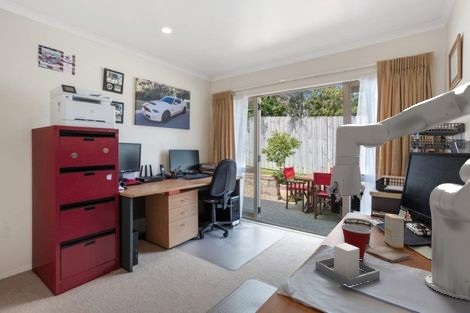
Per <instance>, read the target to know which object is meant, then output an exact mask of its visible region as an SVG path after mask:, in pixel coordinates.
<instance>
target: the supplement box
mask: <svg viewBox="0 0 470 313" xmlns="http://www.w3.org/2000/svg"><path fill="white" fill-rule="evenodd" d="M404 224H405V220H404V218H403V217H401V216H399V215H397V214H393V213H385V214H384V242H385V243H387V245H389V246H390V247H391V248H392V249H393V248H395V249H404V231H405V230H404V226H405V225H404Z"/></svg>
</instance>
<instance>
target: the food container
mask: <svg viewBox="0 0 470 313" xmlns="http://www.w3.org/2000/svg"><path fill="white" fill-rule="evenodd" d="M343 224H349V225H356V226H361V227H365V228H368V229H370V230H371V231H372V229H373V228H374V225H373V222H372V221H370V220H367V219H363V218H355V217H348V218H344V219H343V223H342V225H343ZM371 233H372V232H371ZM371 233H370V235H369V238H368V241H367V246H369V245H370V242H371V235H372V234H371Z"/></svg>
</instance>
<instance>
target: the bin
mask: <svg viewBox="0 0 470 313" xmlns="http://www.w3.org/2000/svg"><path fill="white" fill-rule="evenodd" d="M329 266H334V256H331V257H328V258H323V259H319V260H315V269H316V270H318V271H320V272H321V273H323V274H325V275H327V276H329V277H330V278H331V279H333V280H335V281H336V282H339V283H340V284H342V285H343V284H346V285H347V286H352V285H356V284H360V283H364V282H367V281H370V282H372V281H371V280H373V281H375V280H374V279H376V280H378V278H379V279H381V278H380V277H381V275H380V274H381V273H380V272H381V271H380V270H379V269H378V268H377V269H376V268H375V267H372V266H370V265H368V264H366V263H363V262H362V261H359V268H360V269H362V270H364V271H366V272H367V273H366V272H365V273H364V274H361V275H360V274H359V275H358V276H355V277H351V278H347V277H345V276H344V275H342V274H340V273H338V272H336V271H334V268H331V267H329ZM360 269H359V270H360ZM362 270H361V271H362ZM364 271H363V272H364ZM367 283H368V282H367ZM364 284H365V283H364ZM360 285H361V284H360ZM347 286H346V287H347Z"/></svg>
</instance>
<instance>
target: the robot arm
mask: <svg viewBox="0 0 470 313" xmlns="http://www.w3.org/2000/svg"><path fill="white" fill-rule="evenodd" d="M469 115H470V82H468V83H465V84H464V85H462V86H459V87H457V88H454V89H452V90H450V91H447V92H445V93H442V94H439V95H437V96H435V97H432V98H430V99H426V100H424V101H422V102H420V103H417V104H415V105H412V106H410V107H408V108H407V109H404V110H403V111H401V112H399V113H398V114H397V113H396V114H395V115H393V116H391V117H389V118H386V119H384V120H382V121H379V122H377V123H370V124H369V123H368V124H360V125H356V124H343V125H342V124H341V125H339V126H337V128H336V131H335V132H336V133H335V160H334V161H335V164H334V165H333V167H332V169H331V176H330V185H329V186H327V187H326V188H325V190H326V193H327V197H328V198H329V201H330V212H331V213H332V214H336V215H340V212H341V202H340V199H341V198H342V197H345V196H346V197H347V196H351V202H350V203H351V204H350V206H351V207H350V210H351V211H353V212H356V213H357V212H358V213H360V212H361V204H362V202H361V201H362V200H363V196H364V192H365V190H366V186H364V185H363V184H362V175H361V174H362V173H361V172H362V171H361V167H360V164H361V162H360V161H361V159H360V158H361V146H362V147H364V148H369V149H373V148H379V147H381V146H384V145H386V143H388V142H391V141H393V140H396V139H399V138H403V137H404V136H409V135H413V134H418V133H422V132H424V131H428V130H431V129H434V128H436V127H439V126H441V125H445V124H447V123H449V122H452V121H455V120H458V119H460V118H463V117H466V116H469ZM459 177H460V179H461V180H462V182H463V183H465V184H464V185H462V184H457V183H442V184H439V185H438V186H435V187H434V189H433V190H432V191H431V193H430V196H429V207H430V208H429V209H430V213H431V215H430V216H431V229H432V230H431V265H430V266H431V269H430V272H431V273H430V274H429V275H426V276H425V277H424V283H425V282H426V283H425V284H426V285H427V286H428V287H429V288H430V287H431V288H430V289H432V288H433V289H434V291H435V290H436V291H435V292H437V291H439V292H441V293H440V294H442V293H445V294H447V295H450V296H453V297H456V298H455V299H457V298H462V299H470V158H469V159H467V160H466V161H465V163H464V164H463V165H462V166H461V167H460V170H459ZM433 289H432V290H433ZM439 292H438V293H439ZM447 295H446V296H447ZM450 296H449V297H450ZM453 297H452V298H453ZM462 299H461V300H462Z"/></svg>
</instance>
